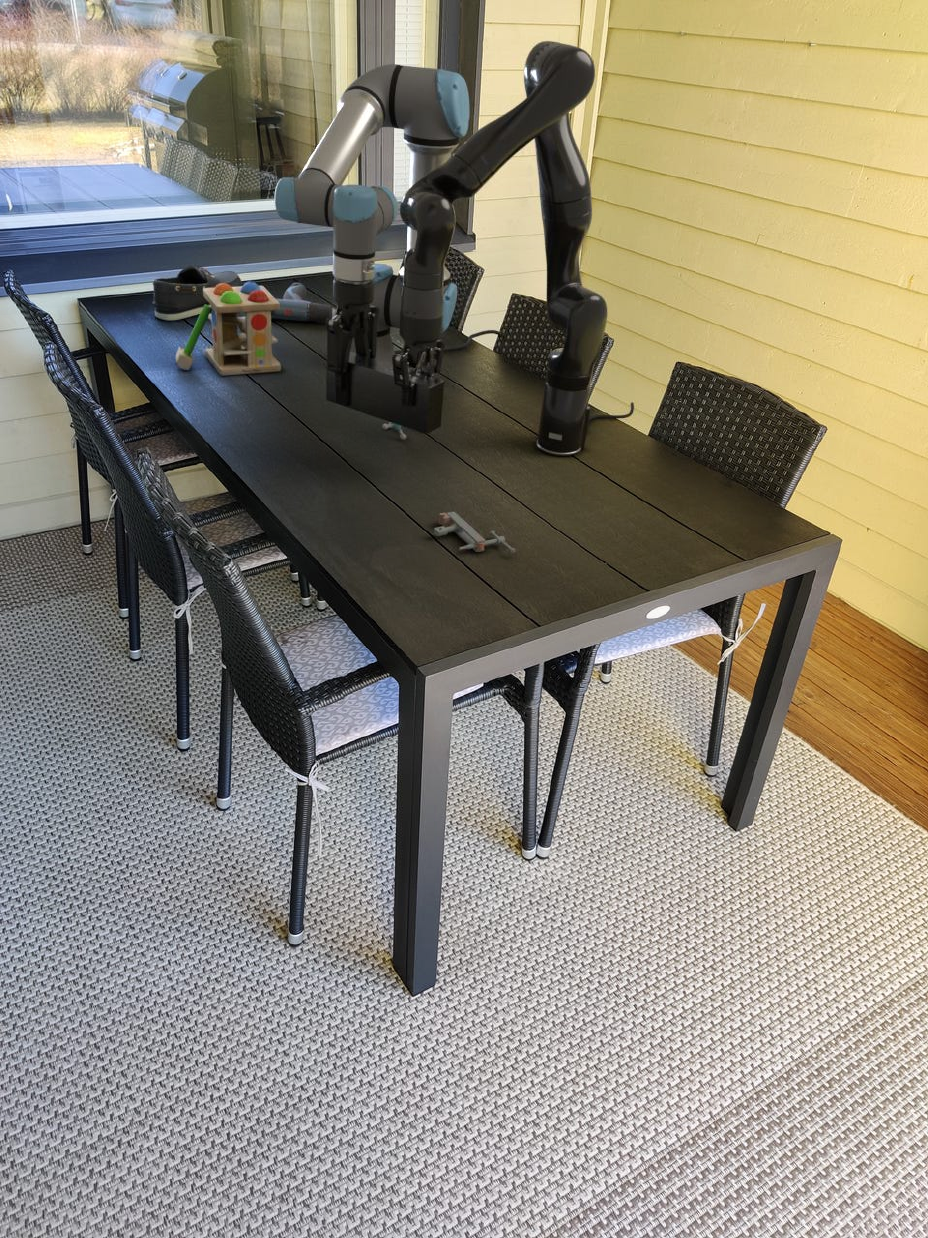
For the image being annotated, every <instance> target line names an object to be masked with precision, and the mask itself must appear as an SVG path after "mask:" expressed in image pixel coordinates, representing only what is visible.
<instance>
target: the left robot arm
mask: <svg viewBox="0 0 928 1238" xmlns="http://www.w3.org/2000/svg"><path fill="white" fill-rule="evenodd" d="M337 111H338V112H337V113H336V115H335V116H334V118H333V120H332V122H331V124H330V125H329V127H328V128H327V130H326V131H325V133H324V134H323V136H322V138H321V139H320V141H319V143H318V145H317V146H316V148H315V150H314V151H313V153H312V154H311V156H310V157H309V159H308V161H307V163H306V164H305V166H304V167H303V169H302V171H301V172H300V174H299V175H298V177H294V176H290V177H287V176H286V177H281V178H280V179H279V180H278V181H277V184H276V187H275V191H274V206H275V211H276V213H277V215H278V217H279V218H280V219H282V220H285V221H289V222H294V223H297V224H303V225H304V224H305V225H313V226H318V227H319V226H320V227H326V228H332V229H333V231H332V232H333V233H332V235H333V236H332V239H333V242H332V243H333V244H332V246H333V247H332V248H333V250H332V276H333V277H334V278H333V280H332V298H333V300H334V301H335V302H336V309H335V310H336V316H335V317H334V318H333V319H326V321H324V322H325V327H326V328H325V329H326V330H327V331H326V333H327V334H326V336H327V337H326V350H327V351H326V364H327V370H329V371H332V372H335V388H336V403H337V405H339V404H340V405H339V406H342V405H343V406H342V407H345V406H346V407H345V408H348V407H347V406H349V392H350V373H348V372H347V368H348V362H349V356H350V351H351V352H354V353H357V354H360V355H363V356H366V357H370V358H373V359H376V360H379V361H382V362H386V363H389V364H392V365H393V363H392V356H393V355H394V354H396V355H400V354H401V353H402V350H403V349H397V350H395V347H394V343H393V341H392V337H391V336H392V335H391V328H394V329H400V310H401V294H402V288H403V276H404V265H403V266H402V267H401V268H400V269H399V272H398V275H397V274H394V269H393V267H392V266H391V265H388V264H385V263H376V244H377V243H376V242H377V236H378V235H379V234H381V233H382V232H384V231H387V229H390V227H391V226H392V225H393V223H395V221H396V219H397V218H398V214H399V202H398V199H397V197H396V195H395V194H394V192H393V191H392V190H391V189H389V188H387V187H385V186H383V185H372V186H367V185H362V184H344V183H345V180H346V179H347V177H348V176H349V174H350V172H351V171H352V168H353V167H354V165H355V163H356V161H357V160H358V159H359V157H360V155H361V153H362V151H363V149H364V148H365V146H366V144H367V142H368V140H369V139H370V137H372V136H374V135H376V134H378V132H380V130H381V129H382V128H394V129H398V130H403V142H404V143H405V144H406V146H407V147H408V148H409V150H410V154H409V155H410V156H409V181H408V189H409V188H410V187H411V186H412V185H413V184H415V183H416V182H417V181H418V180H420V179H421V178H423V177H424V176H426V175H427V174H428V173H430V172H431V171H433V170H434V169H436V168H438V167H439V166H441V165H443V164H444V163H445V162H447V160H448V159H449V158H450V157H451V156H452V152H453V151H454V150H455V149H457V147H458V146H459V144H460V143H459V142H460V138H464V137H465V136H466V135H467V132H468V129H469V121H470V97H469V90H468V86H467V83H466V80H465V79H464V77H463V75H461V74H460V73H458V72H455V71H450V70H446V69H443V68H431V67H422V66H411V65H403V64H395V63H389V64H384V65H379V66H377V67H375V68H372V69H369V70H368V71H366V72H365V73H363V74H362V75H360V76H359V77H357V78H355V80H354V81H353V82H351V83H350V84H349V85H348V86H347V87H346V89H345V90H344V92H343V93H342V95H341V97H340V98H339V101H338V104H337ZM416 239H417V231H415V230H413V229H411V228H409V227H408V226H407V237H406V252H407V251H408V250H409V249H411V248H414V247H415V244H416ZM443 295H444V303H443V318H442V331H441V334H444V332H446V330H447V329H448V327H449V325H450V323H451V320H452V318H453V315H454V311H455V308H456V303H457V300H458V299H457V297H458V286H457V284H456V283H454V282H451V272H450V271H449V270H448V269H447V268H446V266H445V265H444V283H443ZM500 333H502V332H501V331H499V330H496V329H488V330H487V329H486V330H482V331H479V332H476V333H472V334H470V335H469V336H468V337H467V341H466V342H465V343H462V344H459V345H454V346H446V347H445V348H444V352H451V351H456V350H457V351H458V350H461V349H465V348H468V347H469V346H470V345H471V344H472V339H474V338H478V337H480V336H484V335H488V334H489V335H490V334H492V335H493V334H494V335H497V336H499V337H500ZM500 338H504V337H503V336H502V335H501V337H500ZM341 366H342V367H341ZM336 403H335V404H336Z"/></svg>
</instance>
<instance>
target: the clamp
mask: <svg viewBox="0 0 928 1238" xmlns="http://www.w3.org/2000/svg"><path fill="white" fill-rule="evenodd" d="M438 525H441V526H438V527H434V528H433V534H434V535H435V536H436V537H443V536H447V535H448V533H453V532H454V533H455V534H457V536H458V537H460V539H462V540H463V541H464V542H465V543H466V545H464V546H460V547H459V548H458V549H459V551H465V550H471V549H472V550H474V552H476V553H482V552H484V551H485V546H490V545H495V544H496V545H503V546H504V547H505V548H507V549H508V550H509V551H510V554H511V555H512V554H515V553H516V548H515V547H512V546H510V545H509V543H507V542H506V538H505V536H504V535H500V536H499V535H498V534H496V532H495V530H491V531H490V532H489V536H492V537H494V538H493V539H488V540H486V539H485V537H483V536H482V535H481V534H480V533H478V532H477V531H476V530H475V529H474V528H473V527H472V526H471V525H470V524H468V522H466V521H465V520H464V519H463V518H462V517H461V516H460V515H459V514H458V513H457V512H455V511H449V512H440V513H439V514H438Z"/></svg>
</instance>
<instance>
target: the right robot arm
mask: <svg viewBox="0 0 928 1238" xmlns="http://www.w3.org/2000/svg"><path fill="white" fill-rule="evenodd" d="M595 67H596V66H595V63H594V60H593V58H592V56H591V55H590V54H589V53H588V51H587V50H585V49H583V48H581V47H579V46H576V45H572V44H568V43H562V42H559V41H552V40H542V41H541V42H538V43H536V44H535V45H534V46H533V47H532V48H531V50H530V51H529V53H528V55H527V57H526V59H525V62H524V68H523V84H524V91H525V96H526V98H524V99H523V100H522V101H521V102H519V103H518V104H517V105H516V106H514V107H513V108H511V109H510V110H508V111H507V112H505V113H504V114H502V115H501V116H499V117H497V118H496V119H493V120H492V121H490V122H489V123H487V124H485V125H483V126H482V127H481V128H479V129H478V130H477V131H475V132H474V133H473V134H472V135H471V136H469V137H468V138H467V139H466V140H465V141H464V143H462V144H461V145H460V146H459V147H458V148H457V149H456V151H455V152H454V153H453V154H451V157H450V158H449V159H448V160H447V162H445V163H444V164H443V165H441V166H439V167H438V168H436V169H434V170H433V171H431V172H430V173H428V174H427V175H426V176H424V177H423V178H421V179H420V180H418V181H417V182H416V183H415V184H413V185H412V186H411V187H410V188H409V187H408V189H407V191H406V192H405V194H404V195H403V197H402V199H401V201H400V207H399V214H400V218H401V220H402V222H403V223H404V224H405V225H406V226H407V228H408V227H409V228H411V229H413V230H415V231H417V239H416V244H415V247H414V248H411V249H409V250H408V251H407V250H406V252H405V255H404V261H403V266H404V276H403V288H402V294H401V310H400V328H399V329H398V330H399V331H398V333H399V336H400V337H401V338H402V339H403V341H404V343H403V347H402V349H401V350H402V353H401V354H394V355H393V356H392V363H393V373H394V383H395V385H399V386H402V398H401V401H402V405H403V406H406V407H409V408H410V407H412V406H413V405H414V386H415V382H416V378H417V377H418V376H419V375H420V373H421V374H424V375H427V376H430V377H433V378H436V374H440V372H441V369H442V364H443V357H444V352H445V351H444V348H445V346H446V342H445V341H444V340H441V338H442V333H441V331H442V318H443V303H444V295H443V283H444V266H445V265H446V264H445V263H446V260H447V256H448V254H449V251H450V249H451V244H452V241H453V239H454V238H453V237H454V234H455V229H456V211H455V207H454V205H453V203H454V202H455V201H457V200H461V199H462V200H463V199H471V198H472V197H473V196H475V195H476V194H478V192H479V191H480V190H482V188H483V187H484V186H485V185H486V184H488V183H489V181H490V180H491V179H492V178H493V177H494V176H495V175H496V174H497V173H498V172H499V171H500V170H501V169H502V168H503V167H504V166H505V165H506V164H507V163H508V162H509V161H510V160H511V159H512V158H513V157H514V156H515V155H517V154H518V153H519V152H520V151H521V150H522V149H523V148H525V147H526V146H527V145H528V144H529V143H531V142H532V141H533V140H534V147H535V157H536V166H537V167H536V168H537V176H538V186H539V201H540V210H541V220H542V226H543V235H544V238H543V239H544V248H545V249H544V250H545V261H546V312H547V318H548V320H549V322H550V324H551V325H552V326H553V327H554V328H555V329H557V330H559V331H560V332H562V333H563V334H566V335H565V338H564V339H565V340H564V345H563V347H561V348H556V349H553V350H551V351H550V352H549V354H548V359H547V367H546V375H545V381H544V388H543V389H544V390H543V397H542V403H541V410H540V412H541V413H540V419H539V425H538V432H537V439H536V444H535V445H536V448H538V449H539V450H540V451H541V452H543V453H546V454H548V455H551V456H557V457H572V456H575V455H577V454H579V453H580V452H581V451H585V447H586V440H587V433H588V429H589V422H590V421H592V420H595V419H627V418H630V417H631V416H632V415H633V414H634V412H635V403H634V402H630V411H629V412H628V413H625V414H620V415H619V414H616V415H615V414H594V415H590V414H591V406H590V405H589V404H588V403H589V397H590V391H591V386H592V380H593V372H594V368H595V364H596V363H597V361H598V359H599V357H600V354H601V350H602V345H603V340H604V336H605V331H606V327H607V323H608V322H607V321H608V313H609V312H608V305H607V301H606V300H605V298H604V296H603V295H601V294H599V293H598V292H596V291H594V290H592V289H589V288H587V287H585V286H583V283H582V277H581V267H580V255H581V250H582V248H583V244H584V242H585V240H586V238H587V235H588V233H589V230H590V227H591V225H592V220H593V199H592V186H591V185H592V184H591V179H590V175H589V171H588V168H587V166H586V163H585V161H584V159H583V156H582V154H581V151H580V149H579V147H578V145H577V142H576V139H575V137H574V133H573V130H572V125H571V120H570V112H572V111H573V110H574V109H576V108H577V107H578V106H579V105H581V103H582V102H584V100H585V99H586V98H587V97H588V96H589V94H590V93H591V91H592V89H593V87H594V83H595V78H596V68H595ZM410 368H412V369H410ZM413 369H414V370H413ZM408 374H411V379H410V381H409V375H408ZM400 376H402V377H401V379H400Z"/></svg>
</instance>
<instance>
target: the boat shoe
mask: <svg viewBox="0 0 928 1238" xmlns="http://www.w3.org/2000/svg"><path fill="white" fill-rule="evenodd" d="M221 283H226V284H228V285H230V286H231V287H242V286H243V284H242V283H243V282H242V279H241V278H240V276H239V274H238V273H237V272H235V271H232V270H225V271H220V272H214V273H211V272H210V271H208V270H207V269H206V268H203V267H201V266H195V265H193V264H191V265H188V266H185V267H184V268H182V269H181V270H179V272H178V274H177V275H176V276H173V277H172V276H171V277H159V278H154V279H152V286H153V288H152V289H153V301H152V302H151V303H152V305H153V306H154V317H156V318H157V319H160V320H163V321H178V320H182V319H183V320H184V319H187V318H190V317H194V316H197V315H200V314H201V311H202V309H203V307H204V305H208V306H210V307H211V305H210V304H209V302H208V301H207V300H206V299H205V297H204V296H203V289H204V288H215V287H216V286H217V285H218V284H221Z"/></svg>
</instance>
